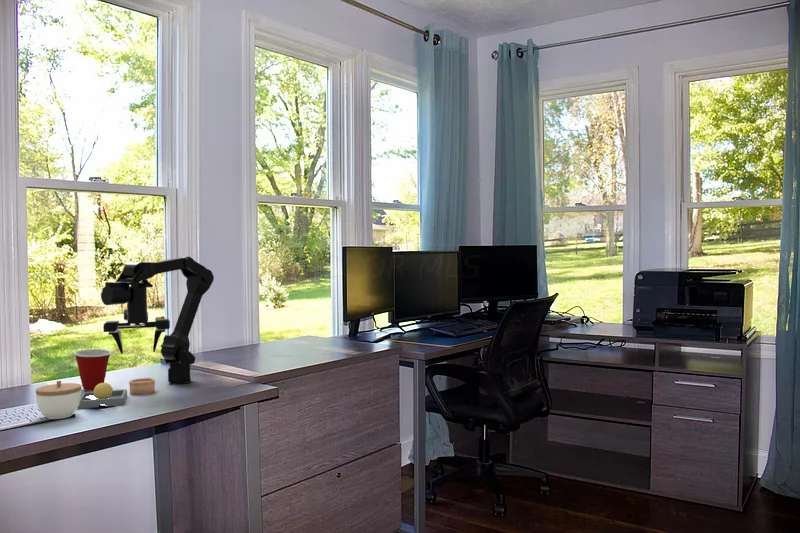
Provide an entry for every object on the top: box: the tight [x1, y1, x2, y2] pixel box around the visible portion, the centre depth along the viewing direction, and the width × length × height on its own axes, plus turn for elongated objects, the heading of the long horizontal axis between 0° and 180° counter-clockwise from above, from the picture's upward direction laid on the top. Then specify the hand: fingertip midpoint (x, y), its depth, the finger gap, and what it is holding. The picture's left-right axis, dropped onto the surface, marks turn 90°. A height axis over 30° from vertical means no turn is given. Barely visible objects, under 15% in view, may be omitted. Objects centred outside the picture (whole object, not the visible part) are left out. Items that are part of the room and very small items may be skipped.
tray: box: [77, 389, 128, 410], centre depth 185 cm, size 12×12×2 cm
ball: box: [93, 382, 113, 399], centre depth 185 cm, size 5×5×5 cm
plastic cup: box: [73, 348, 112, 391], centre depth 203 cm, size 11×11×12 cm
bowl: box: [128, 377, 156, 396], centre depth 198 cm, size 7×7×4 cm
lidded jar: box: [35, 380, 82, 420], centre depth 170 cm, size 11×11×9 cm
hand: (138, 353), depth 198 cm, fingers open, 9 cm apart
